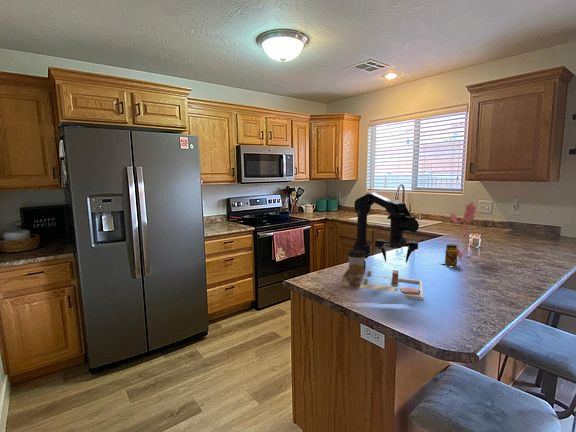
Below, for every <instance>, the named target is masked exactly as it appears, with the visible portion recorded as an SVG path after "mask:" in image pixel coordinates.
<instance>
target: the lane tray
mask: <svg viewBox="0 0 576 432" xmlns="http://www.w3.org/2000/svg"><path fill="white" fill-rule="evenodd" d="M367 275H370V276H372V270H369V269H367ZM402 281H403V282H404V283H411V282H412V283H414V284H419V289H418V288H416V289H417V290H418V291H419V296H418V295H410V294H405V293H404V295H405V296H406V298H407V299H415V300H420V301H423V300H424V292H423V291H424V290H423V281H422V279H412V278H411V279H409V278H402V277H401V278H400V277H398V282H402ZM368 282H369V279H368V278H367V277H363V284H369V283H368ZM403 282H402V283H403ZM400 288H404V286H403V287H402V286H400V287H399V289H400Z"/></svg>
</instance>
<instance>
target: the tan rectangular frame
mask: <svg viewBox="0 0 576 432" xmlns="http://www.w3.org/2000/svg"><path fill="white" fill-rule="evenodd" d="M349 276H350V274H349V267H348V268H346V269H345V271H344V272H343V276H342V277H343V278H342V280H343V281H347V282H349V279H347V278H348V277H349ZM364 276H366V277H371V275H368V274H363V277H364ZM391 276H392V277H391V280H390V284H389V283H387V284H386V283H383V286H393V285H394V284H396V285H398V284H399V281H398V278H399V270H392V273H391ZM373 277H375V278H380V276H379V275H373ZM382 278H386V279H390V277H388V276H382ZM360 283H364V280H363V281H362V280H360ZM368 284H373V282H371V281H368ZM374 285H382V283H379V282H374Z"/></svg>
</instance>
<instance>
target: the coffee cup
mask: <svg viewBox="0 0 576 432" xmlns="http://www.w3.org/2000/svg"><path fill="white" fill-rule="evenodd" d="M347 256H348V269H349V275H350V274H360V281H362V280H364V275H365V269H364V261H366V258H365V253H364V251H363V250H358V249H353V248H352V249H349V251H348V255H347Z"/></svg>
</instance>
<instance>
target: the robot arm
mask: <svg viewBox="0 0 576 432" xmlns="http://www.w3.org/2000/svg"><path fill="white" fill-rule="evenodd" d="M374 204H375V205H378V206H379V207H382V208H384V209H385V211H386V212H387V213H388V214H389V215H388V216H387V219H388V220H390V223H389V225H390V232H389V240H388V241H387V240H386V241H385V238H384V239H383V238H377V239H376V240H375V242H374V247H375V248H378V249H379V250H380V251H381V253H382V257H383V258H384V262H387V251H386V250H387V249H386V246H389V248H390V249H394V248H395V249H402V247H406V248H407V252H406V257H405V264H407V263H408V261H409V258H410V255H411V254H412V253H413V252H414V251H416V250H419V242H418V241H417V240H408V242H407V237H406V236H404V232H409V233H412V234H413V233H416V232H418V230H419V227H420V223H419V221H418V220H417V219H416V216H412V215H411V213H410V211H409V209H408V208H407V205H406V203H405V202H403V201H399V200H398V201H397V200H391V199H390V198H387V197H385V196H383V195H380V194H378V193H377V192H367V193H366V194H364V195H363V196H360V197H359V198H356V199H355V201H354V211H355V213H356V214H357V223H356V225H357V226H356V229H357V230H356V241H355V243H354V244H353V248H352V250H353V249H358V250H363V251H364V253H365V261H364V270H366V268H367V267H366V266H367V264H366V259H368V257H369V255H370V253H371V250H370V248H371V245H370V244H368V242H367V228H368V227H367V226H368V225H367V224H368V214H369V213H370V211H371V208H372V207H371V206H372V205H374Z"/></svg>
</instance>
